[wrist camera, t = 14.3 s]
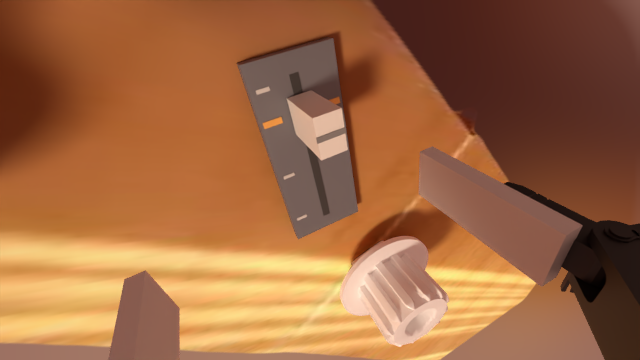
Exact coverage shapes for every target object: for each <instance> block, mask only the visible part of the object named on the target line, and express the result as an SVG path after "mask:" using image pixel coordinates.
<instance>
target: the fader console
mask: <svg viewBox="0 0 640 360" xmlns="http://www.w3.org/2000/svg"><path fill="white" fill-rule="evenodd" d="M237 65H238V68H239V71H240V74H241V77H242V80H243V83H244V86H245V89H246V91H247V94H248V97H249V100H250V103H251V106H252V109H253V112H254V115H255V118H256V121H257V124H258V126H259V129H260V132H261V135H262V138H263V141H264V144H265V147H266V150H267V153H268V156H269V158H270V161H271V164H272V167H273V170H274V173H275V176H276V179H277V182H278V185H279V188H280V191H281V193H282V196H283V199H284V202H285V205H286V208H287V211H288V214H289V217H290V220H291V223H292V225H293V228H294V231H295V234H296V236H297V238H298V239H300V238H302V237H304V236H306V235H308V234H310V233H313V232H315V231H317V230H319V229H321V228H323V227H325V226H328V225H330V224H332V223H334V222H336V221H338V220H341V219H343V218H345V217H347V216H349V215H351V214H353V213H356V212H358V207H357V200H356V193H355V186H354V179H353V172H352V165H351V158H350V151H349V144H348V137H347V130H346V133H345V134H346V141H347V147H348V150H347V151H344V152H342V153H339V154H337V155H334V156H332V157H329V158H327V159H324V160H322V161H321V160H320V159H319V158H318V157H317V156H316V155H315V153H314V152H313V151H312V150H311V149H310V148H309V147H308V146H307V145H306V144H305V143H304V142H303V141H302V140H301V139H300V138H299V137H298V136H297V135H296V132H295V128H294V125H293V121H292V117H291V113H290V109H289V106H288V102H287V98H289V97H292V96H295V95H298V94H301V93H304V92H307V91H310V90H312V91H313V92H315V93H317V94H318V95H320V96H322V97H324V98H325V99H327V100H329V101H331V102H332V103H334V104H336V105H337V106H339V107H341V108H342V113H343V120H344V127H345V128H346V123H345V116H344V109H343V102H342V96H341V89H340V82H339V75H338V68H337V61H336V54H335V47H334V40H333V38H329V37H326V38H323V39H319V40H316V41H312V42H309V43H305V44H302V45H298V46H295V47H291V48H288V49H284V50H281V51H277V52H274V53H270V54H267V55H263V56H260V57H256V58H253V59H249V60H246V61H242V62H239V63H237Z"/></svg>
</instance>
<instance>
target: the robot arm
mask: <svg viewBox="0 0 640 360" xmlns="http://www.w3.org/2000/svg"><path fill="white" fill-rule="evenodd" d="M419 195H421V196H422V197H423V198H424V199H426V200H427V201H428V202H430V203H431V204H432V205H434V206H435V207H436V208H438V209H439V210H440V211H442V212H443V213H444V214H446V215H447V216H448V217H450V218H451V219H452V220H454V221H455V222H456V223H458V224H459V225H460V226H462V227H463V228H464V229H466V230H467V231H468V232H470V233H471V234H472V235H474V236H475V237H476V238H478V239H479V240H480V241H482V242H483V243H484V244H486V245H487V246H488V247H490V248H491V249H492V250H494V251H495V252H496V253H498V254H499V255H500V256H502V257H503V258H504V259H506V260H507V261H508V262H510V263H511V264H512V265H514V266H515V267H516V268H518V269H519V270H520V271H522V272H523V273H524V274H526V275H527V276H528V277H530V278H531V279H532V280H534V281H535V282H536V283H538V284H539V285H540V286H543V285H545V284H546V283H548V282H549V281H551V280H553V279H554V278H556V276H557V275H558V273H559V271H560V269H561V267H563V268H564V269H566V270H567V271H568V273H567V275H566V277H565V279H564V280H563V282H562V284H561V291H566V289H567V287H568V285H569V284H570V285H571V290H570V292H572V293H575V295H576V298H577V300H578V302H579V304H580V306H581V309H582V311H583V313H584V315H585V317H586V319H587V322H588V324H589V326H590V328H591V331H592V333H593V335H594V337H595V339H596V341H597V344H598V346H599V348H600V350H601V352H602V355H603V357H604V359H605V360H640V224H635V225H627V224H624V223H621V222H617V221H610V220H607V221H599V222H594V221H592V220H590V219H588V218H586V217H584V216H581V215H580V214H578V213H576V212H574V211H571V210H570V209H567V208H566V207H564V206H562V205H560V204H558V203H556V202H554V201H552V200H547V198H546V197H544V196H542V195H540V194H536V193H535V192H534V191H532V190H530V189H528V188H526V187H524V186H521V185H517V184H514V183H510V182H506V183H504V184H503V183H501V182H499V181H497V180H495V179H493V178H491V177H490V176H488V175H486V174H484V173H482V172H480V171H478V170H476V169H474V168H472V167H470V166H469V165H467V164H465V163H463V162H461V161H459V160H457V159H455V158H453V157H451V156H449V155H448V154H446V153H444V152H442V151H440V150H438V149H436V148H434V147H430V148H428V149H425V150H423V151H421V152H420V169H419ZM108 360H179V307H178V306H177V305H176V304H175V303H174V302H173V301H172V299H171V298H170V297H169V296H168V295H167V294H166V293H165V292H164V290H163V289H162V288H161V287H160V286H159V285H158V284H157V283H156V282H155V280H154V279H153V278H152V277H151V276H150V275H149V274H148V273H147V272H146V270H145V271H143V272H141V273H138V274H136V275H134V276H132V277H129V278H127V279H125V280H124V285H123V290H122V295H121V300H120V305H119V310H118V315H117V319H116V324H115V329H114V334H113V339H112V344H111V349H110V354H109V359H108Z"/></svg>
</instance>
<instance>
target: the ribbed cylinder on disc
mask: <svg viewBox="0 0 640 360" xmlns="http://www.w3.org/2000/svg"><path fill="white" fill-rule="evenodd" d="M427 262H428V251H427V248H426V246H425V245H424V244H423V243H422V242H421V241H420V240H419V239H417V238H415V237H412V236H399V237H395V238H391V239H388V240H386V241H383V240H382V241H380V242H378V243H377V244H375V245H374V246H373V247H371V248H370V249H369V250H367V251H366V252H364V253H363V254H362V255H360V256H359V257H358V258H356V259H355V260H353V261H352V265H353V266H352V267H351V269H350V270H349V271H348V273H347V275H346V276H345V278H344V280H343V283H342V285H341V289H340V299H341V302H342V304H343V306H344V308H345V309H346V310H347V311H348V312H349V313H351V314H353V315H359V316H363V315H370V316H371V317H372V319H373V320H374V322H375V324H376V325H377V327H378V328H379V330H380V331H381V333H382V335H383V336H384V338H385V339H386V340H387V342H388V343H390V344H394V345H396V346H399V347H401V346H402V345H405V344H409V343H414V341H416V340H417V339H419V338H421V337H422V336H424V335H425V334H427V333H428V332H429V331H430V330H431V329H432V328H433V327H434V326H435V325H436V324H437V323H440V320H441V318H442V317H443V315H444V313H445V312H446V311H447V309H448V307H447V303H448V302H449V298H448V295H447V293H446V292H445V291H444V290H443V289H442V288H441V287H440V286H439V285H438V284H437V283H436V282H435V281H434V280H433V279H432V278H431V277H430V276H429V274H428V273H427V272H426V271H425V268H426V265H427Z"/></svg>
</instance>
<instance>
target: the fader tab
mask: <svg viewBox="0 0 640 360" xmlns="http://www.w3.org/2000/svg"><path fill="white" fill-rule="evenodd" d="M287 102H288V106H289V109H290V113H291V117H292V121H293V125H294V128H295V132H296V135H297V136H298V137H299V138H300V139H301V140H302V141H303V142H304V143H305V144H306V145H307V146H308V147H309V148H310V149H311V150H312V151H313V152H314V153H315V155H316V156H317V157H318V158H319V159H320V160H321V161H322V160H324V159H327V158H329V157H332V156H334V155H337V154H339V153H342V152H344V151H347V150H348V147H347V141H346V134H345V133H346V128H345V127H344V120H343V113H342V108H341V107H339V106H337V105H336V104H334V103H332V102H331V101H329V100H327V99H325V98H324V97H322V96H320V95H318V94H317V93H315V92H313V91H312V90H310V91H307V92H304V93H301V94H298V95H295V96H292V97H289V98H287Z"/></svg>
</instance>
